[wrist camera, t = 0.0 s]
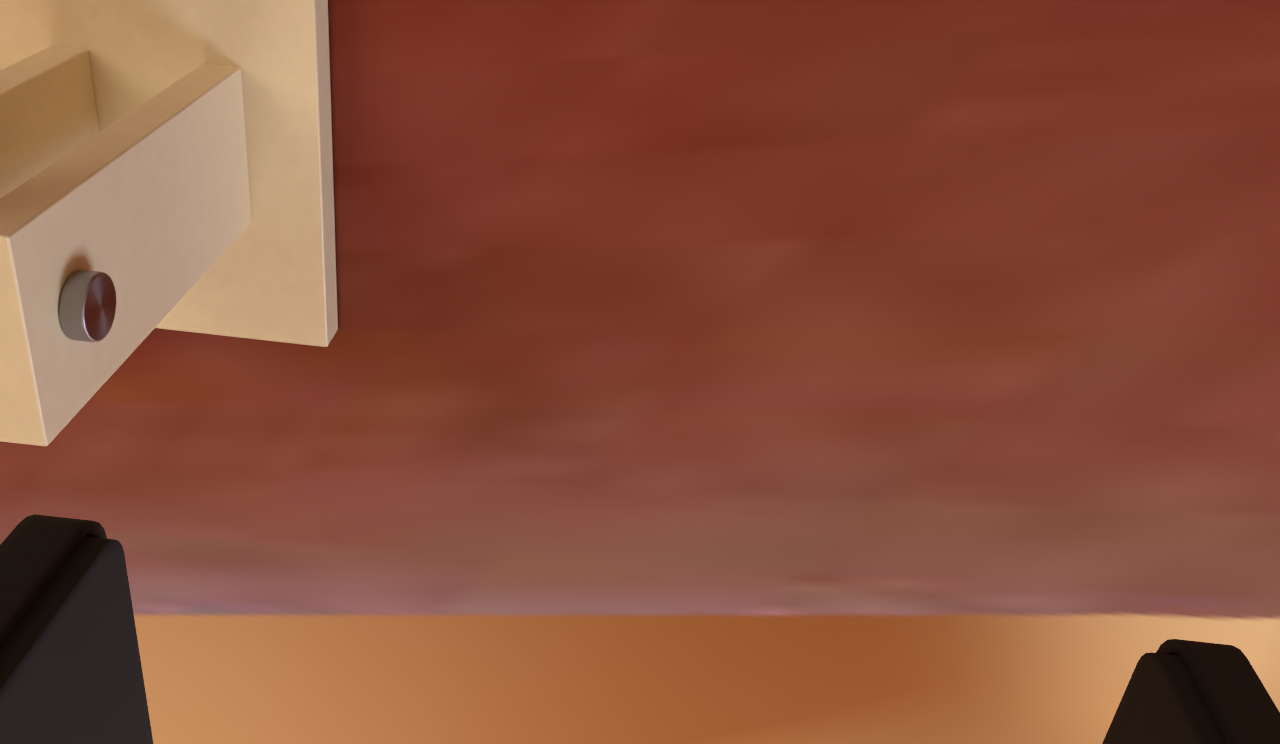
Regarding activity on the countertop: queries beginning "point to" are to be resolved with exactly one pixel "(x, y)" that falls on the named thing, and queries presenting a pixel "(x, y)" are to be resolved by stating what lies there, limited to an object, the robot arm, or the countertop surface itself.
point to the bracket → (157, 187)
